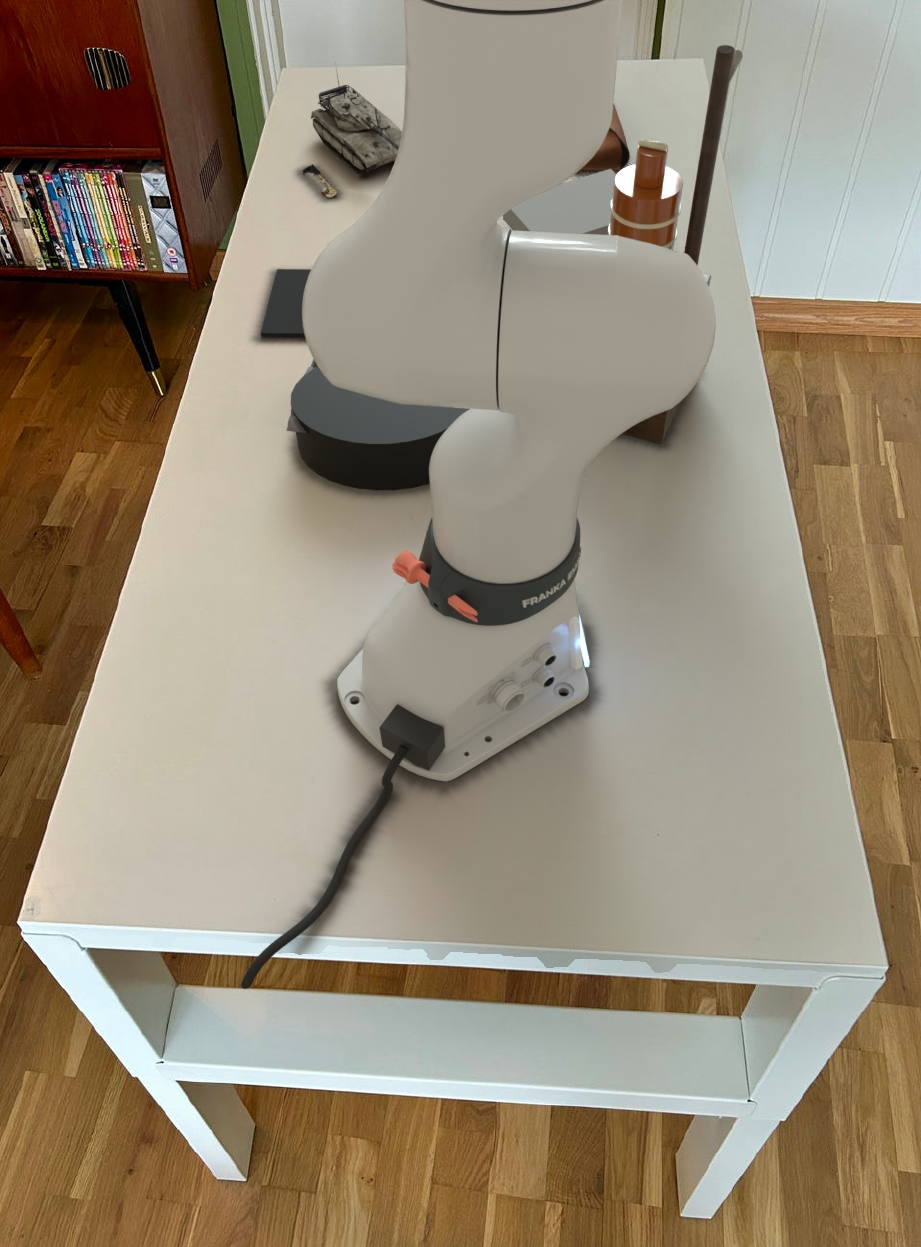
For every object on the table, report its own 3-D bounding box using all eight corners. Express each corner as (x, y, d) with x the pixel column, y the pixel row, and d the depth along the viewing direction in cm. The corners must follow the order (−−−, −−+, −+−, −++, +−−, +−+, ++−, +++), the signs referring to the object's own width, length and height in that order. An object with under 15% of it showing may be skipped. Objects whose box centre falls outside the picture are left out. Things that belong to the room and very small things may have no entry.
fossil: (301, 174, 141) (299, 168, 141) (314, 168, 142) (312, 162, 141) (328, 201, 137) (326, 196, 136) (341, 194, 137) (339, 189, 137)
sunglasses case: (544, 101, 149) (571, 57, 145) (586, 122, 152) (613, 80, 148) (565, 170, 138) (594, 125, 134) (609, 192, 141) (639, 149, 137)
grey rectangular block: (541, 272, 126) (648, 237, 130) (543, 245, 123) (653, 210, 127) (502, 228, 131) (606, 195, 135) (503, 201, 128) (610, 168, 132)
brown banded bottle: (593, 308, 103) (606, 153, 90) (613, 271, 106) (629, 117, 94) (656, 323, 101) (679, 167, 89) (675, 285, 104) (699, 130, 92)
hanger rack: (549, 415, 111) (568, 61, 83) (587, 345, 118) (616, -4, 89) (661, 444, 108) (721, 87, 80) (693, 371, 115) (759, 18, 86)
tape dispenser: (460, 506, 105) (464, 449, 99) (281, 482, 106) (274, 424, 100) (479, 410, 114) (484, 353, 108) (314, 388, 115) (309, 331, 109)
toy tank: (376, 192, 137) (368, 115, 129) (310, 133, 146) (299, 58, 138) (429, 172, 139) (425, 95, 131) (361, 116, 148) (353, 41, 140)
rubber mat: (367, 338, 120) (366, 334, 119) (261, 337, 120) (260, 333, 120) (377, 274, 127) (377, 269, 126) (277, 273, 127) (276, 268, 127)
